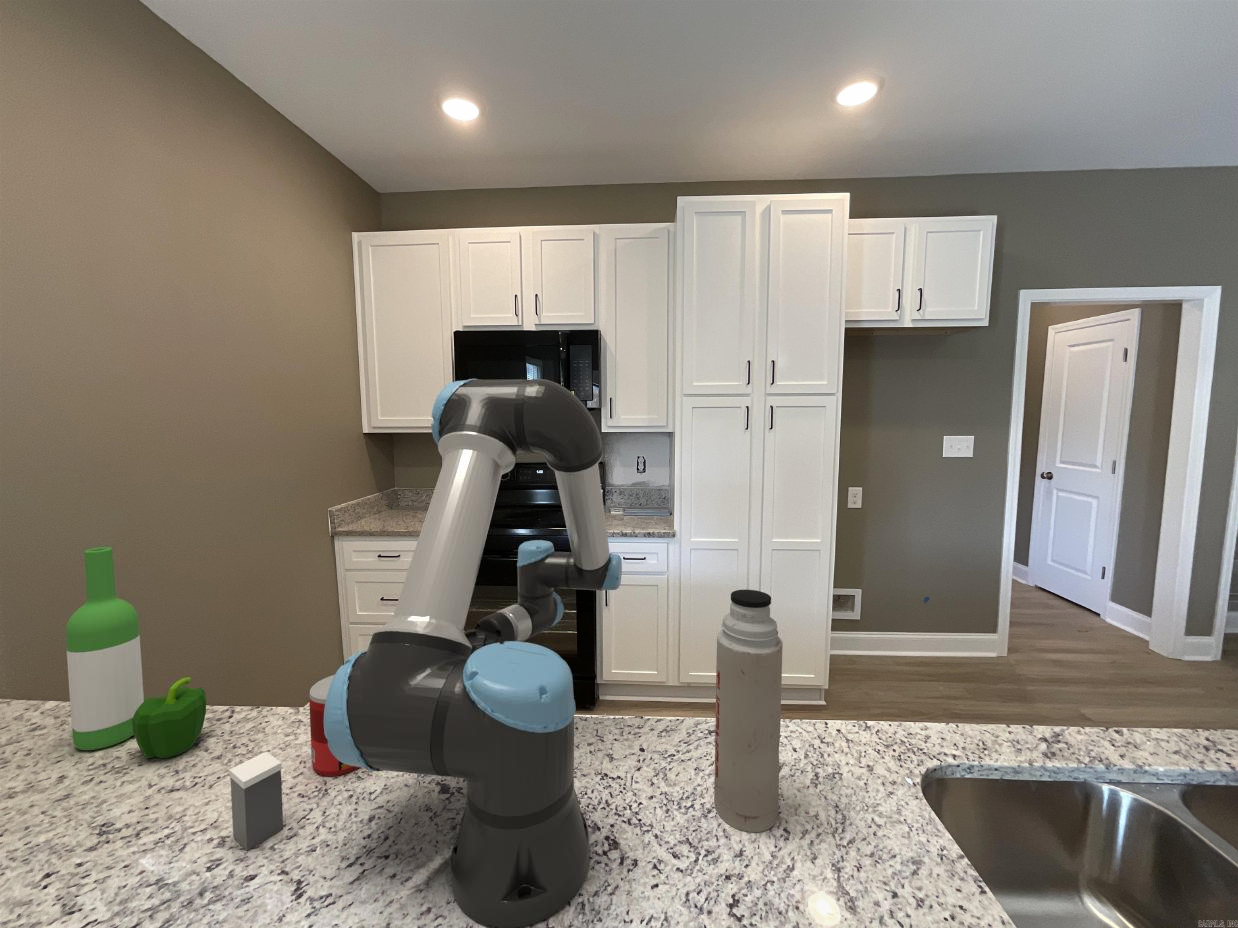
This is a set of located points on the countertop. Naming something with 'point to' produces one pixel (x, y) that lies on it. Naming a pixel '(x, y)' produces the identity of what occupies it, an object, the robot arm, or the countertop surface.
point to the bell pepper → (170, 721)
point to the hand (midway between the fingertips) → (405, 676)
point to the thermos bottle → (748, 714)
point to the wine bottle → (103, 659)
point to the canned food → (323, 733)
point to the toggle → (256, 800)
